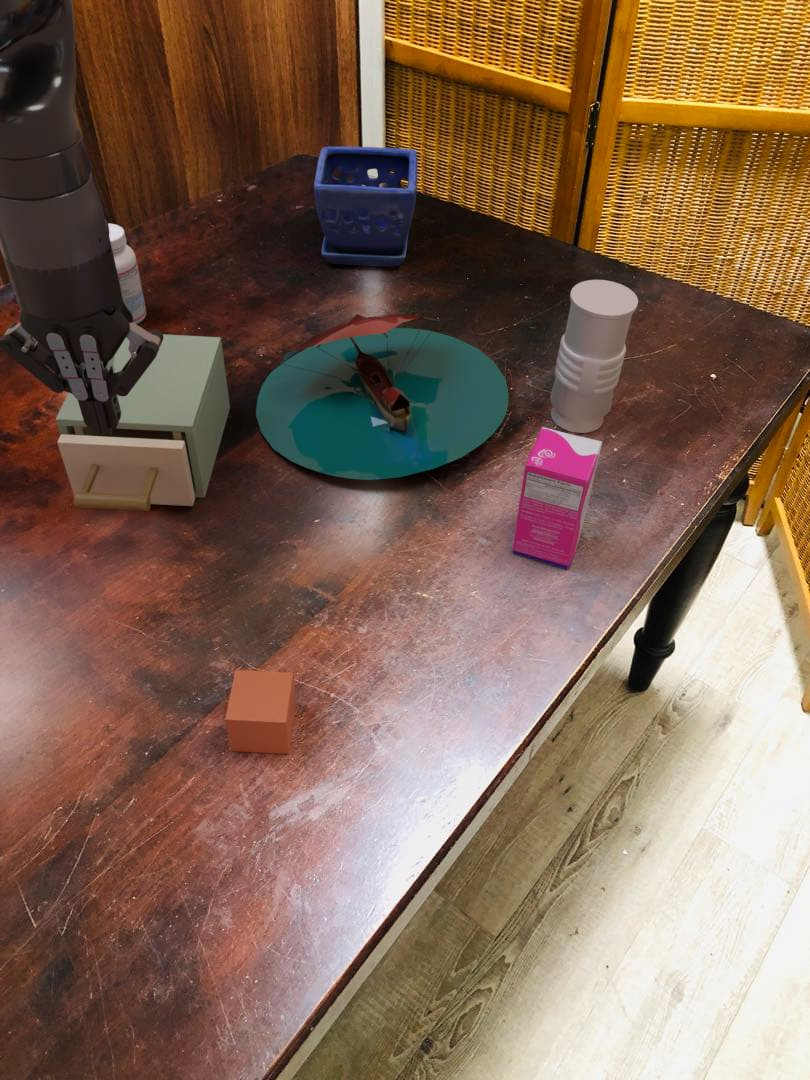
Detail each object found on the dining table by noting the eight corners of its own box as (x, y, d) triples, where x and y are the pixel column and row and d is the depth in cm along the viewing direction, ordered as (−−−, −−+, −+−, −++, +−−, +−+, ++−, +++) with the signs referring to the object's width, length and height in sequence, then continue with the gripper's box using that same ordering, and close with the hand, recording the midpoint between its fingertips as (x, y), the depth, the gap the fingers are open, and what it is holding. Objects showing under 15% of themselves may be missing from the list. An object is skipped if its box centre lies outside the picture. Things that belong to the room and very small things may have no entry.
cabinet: (204, 498, 87) (192, 426, 81) (77, 491, 87) (55, 418, 81) (230, 407, 97) (221, 337, 91) (116, 401, 97) (99, 330, 91)
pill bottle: (87, 315, 109) (65, 229, 101) (131, 299, 112) (114, 214, 104) (111, 337, 106) (91, 250, 98) (156, 320, 109) (140, 234, 101)
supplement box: (525, 514, 87) (542, 423, 79) (583, 531, 86) (607, 441, 78) (508, 553, 84) (524, 462, 75) (568, 572, 82) (592, 481, 74)
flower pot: (313, 272, 118) (310, 185, 110) (323, 225, 127) (321, 142, 119) (412, 277, 118) (416, 191, 110) (415, 230, 128) (419, 147, 119)
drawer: (181, 545, 82) (169, 487, 76) (58, 539, 82) (38, 480, 76) (218, 419, 94) (210, 362, 89) (112, 414, 94) (97, 356, 89)
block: (231, 751, 68) (224, 719, 65) (240, 701, 71) (235, 669, 68) (289, 754, 68) (286, 722, 65) (296, 704, 71) (293, 672, 68)
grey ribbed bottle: (544, 430, 97) (567, 311, 86) (548, 393, 101) (571, 275, 91) (607, 440, 96) (639, 320, 85) (608, 402, 101) (638, 284, 90)
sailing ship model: (444, 318, 112) (442, 235, 104) (554, 442, 93) (562, 352, 85) (230, 376, 105) (211, 292, 97) (303, 523, 86) (286, 432, 78)
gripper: (-58, 261, 61) (14, 452, 73) (133, 270, 61) (172, 460, 73) (-18, 211, 66) (43, 398, 79) (158, 219, 66) (191, 405, 79)
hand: (106, 427), depth 76 cm, fingers closed
